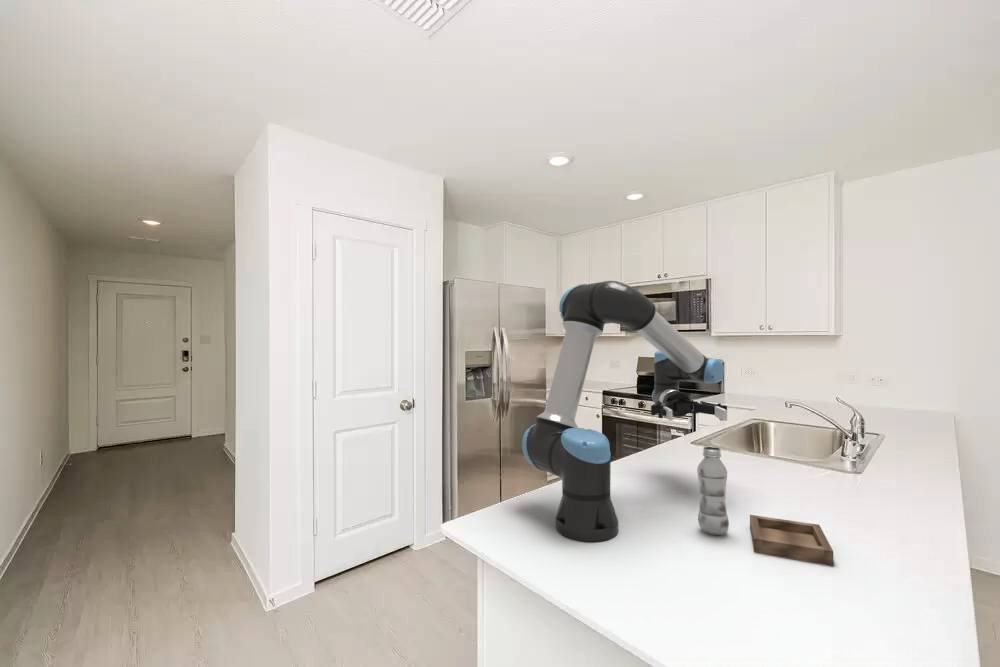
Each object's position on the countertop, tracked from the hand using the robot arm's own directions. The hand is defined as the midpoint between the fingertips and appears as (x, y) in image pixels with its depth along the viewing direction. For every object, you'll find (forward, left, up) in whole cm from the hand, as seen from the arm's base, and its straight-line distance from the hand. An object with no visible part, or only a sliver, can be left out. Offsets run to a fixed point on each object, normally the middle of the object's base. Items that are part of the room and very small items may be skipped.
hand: (698, 415), depth 116 cm
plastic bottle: (+3, -9, -26) cm, 28 cm away
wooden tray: (+18, -9, -26) cm, 33 cm away
